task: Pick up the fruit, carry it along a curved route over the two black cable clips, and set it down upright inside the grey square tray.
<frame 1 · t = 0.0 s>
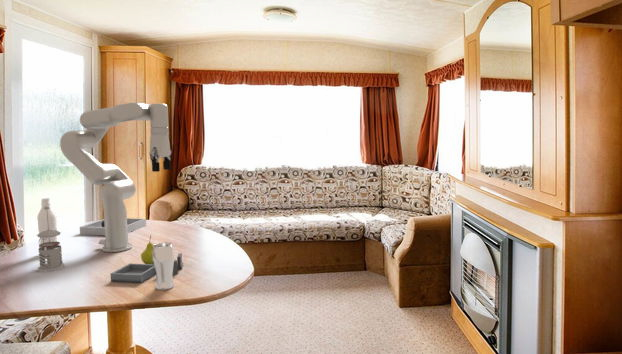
hand: (161, 170, 187), 37 cm above the table, tool pointing down, fingers open, 9 cm apart
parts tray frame: (114, 229, 233), on the table
beer glass: (165, 287, 146), on the table
water bottle: (49, 254, 187), on the table
french press: (50, 267, 169), on the table
fruit: (150, 265, 171), on the table
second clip: (168, 274, 159), on the table
pipe connector: (114, 230, 233), on the table
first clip: (175, 267, 167), on the table
grey square tray: (135, 276, 157), on the table
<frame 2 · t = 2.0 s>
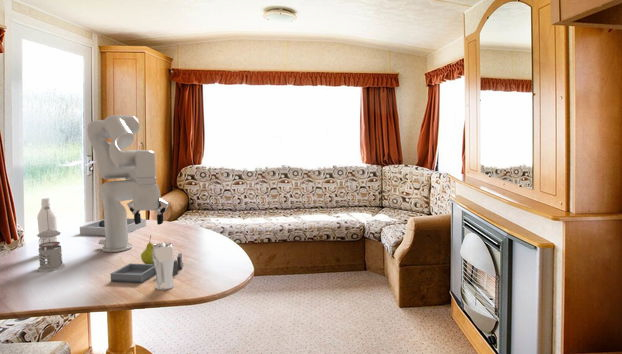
hand: (149, 223, 168), 17 cm above the table, tool pointing down, fingers open, 9 cm apart
pipe connector: (111, 231, 232), on the table
everything else where it was.
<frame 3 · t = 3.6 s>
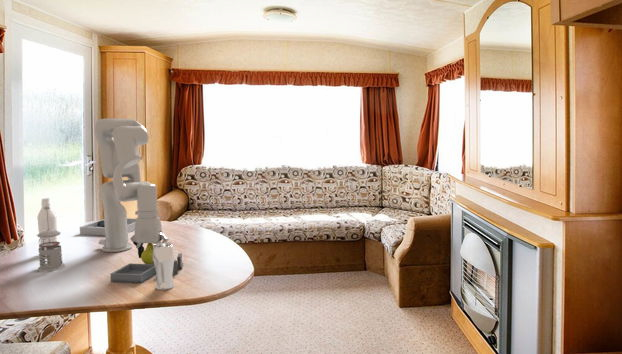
hand: (150, 257, 170), 3 cm above the table, tool pointing down, fingers closed on fruit, 6 cm apart
fruit: (150, 265, 171), on the table, touching gripper
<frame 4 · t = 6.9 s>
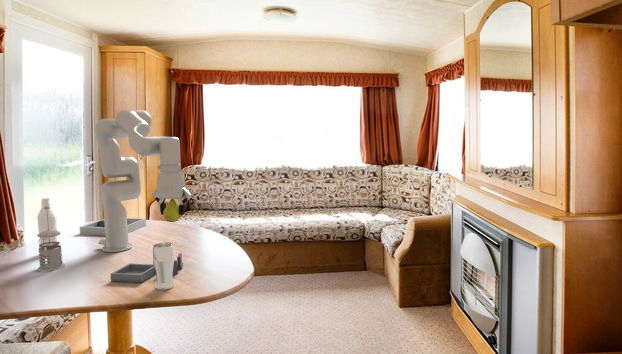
hand: (172, 213, 164), 22 cm above the table, tool pointing down, fingers closed on fruit, 6 cm apart
fruit: (173, 222, 165), point 18 cm above the table, touching gripper
everything else where it was.
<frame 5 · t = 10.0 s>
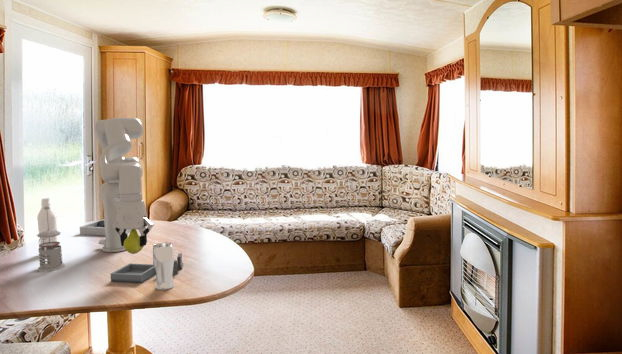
hand: (133, 244, 155), 12 cm above the table, tool pointing down, fingers closed on fruit, 6 cm apart
fruit: (134, 253, 156), point 9 cm above the table, touching gripper
everything else where it was.
when the fingers open (5 cm above the table, at t = 11.9 s): fruit drops 1 cm, resting on grey square tray.
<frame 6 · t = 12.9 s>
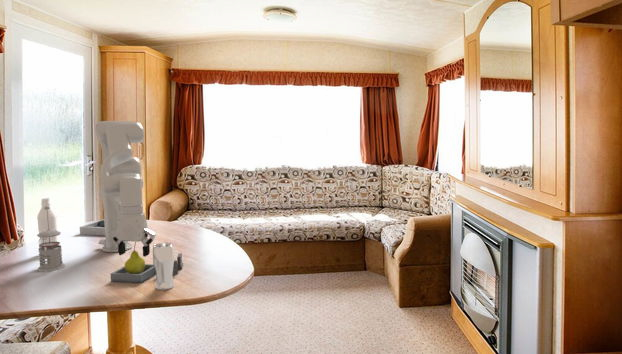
hand: (134, 254, 156), 8 cm above the table, tool pointing down, fingers open, 9 cm apart
fruit: (135, 275, 157), point 1 cm above the table, touching grey square tray
everything else where it was.
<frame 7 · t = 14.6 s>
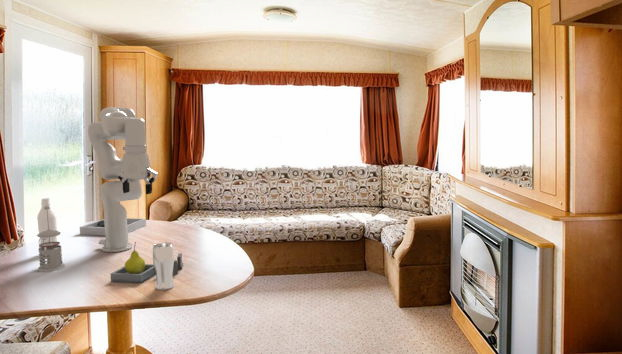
hand: (137, 193, 166), 30 cm above the table, tool pointing down, fingers open, 9 cm apart
nothing on the table moved.
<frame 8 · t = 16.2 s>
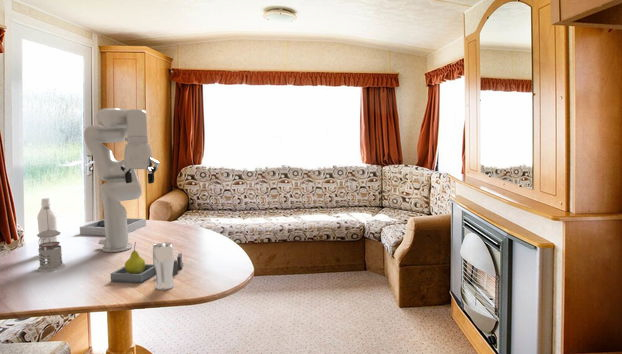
hand: (139, 183, 170), 33 cm above the table, tool pointing down, fingers open, 9 cm apart
nothing on the table moved.
at the end: fruit 0.1 cm off-centre on the grey square tray, point 0.6 cm above the grey square tray's base; fruit tilted 0°; the gripper is holding nothing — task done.
